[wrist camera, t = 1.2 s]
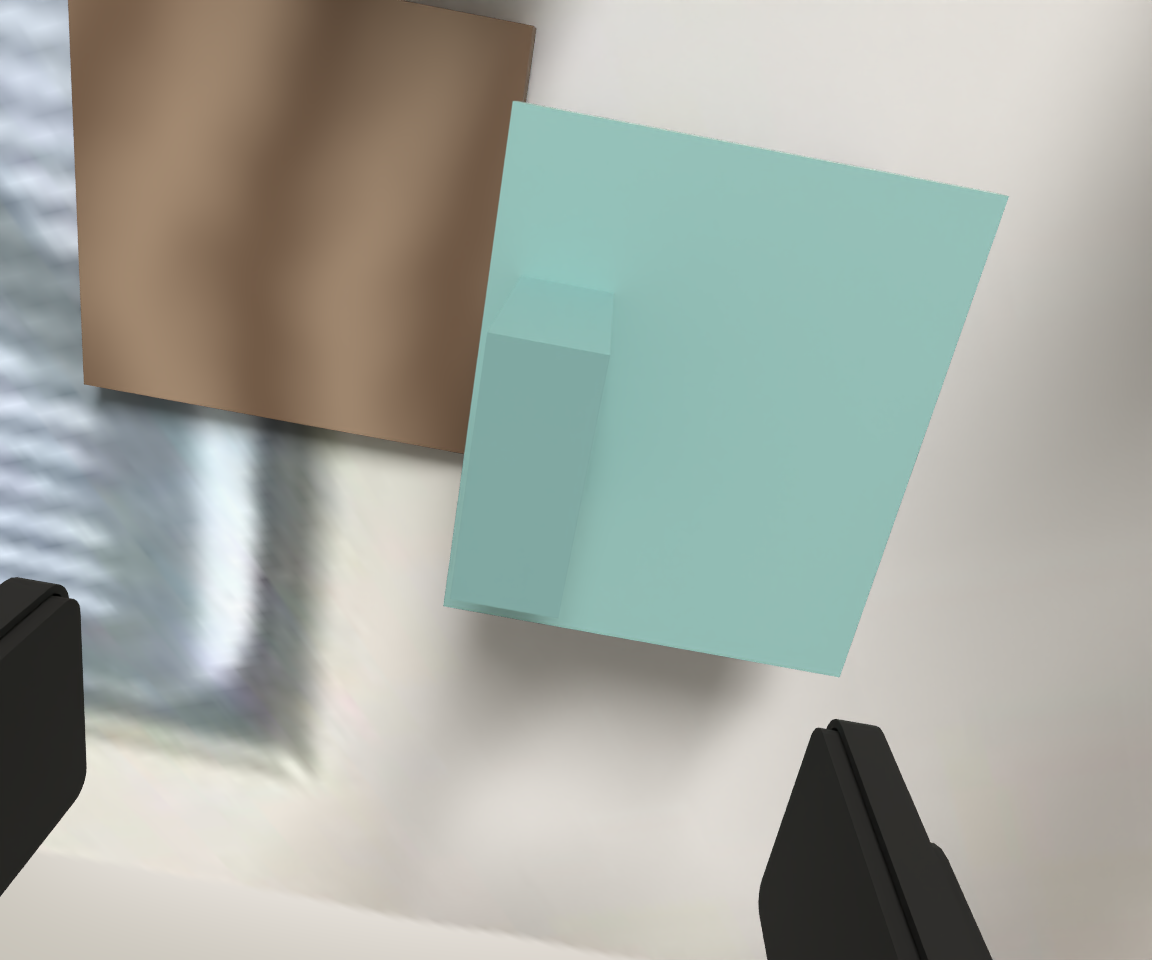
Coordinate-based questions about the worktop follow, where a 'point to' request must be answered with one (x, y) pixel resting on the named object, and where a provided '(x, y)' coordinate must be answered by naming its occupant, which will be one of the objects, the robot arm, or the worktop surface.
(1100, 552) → the worktop surface
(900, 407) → the lid
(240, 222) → the board
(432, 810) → the worktop surface
